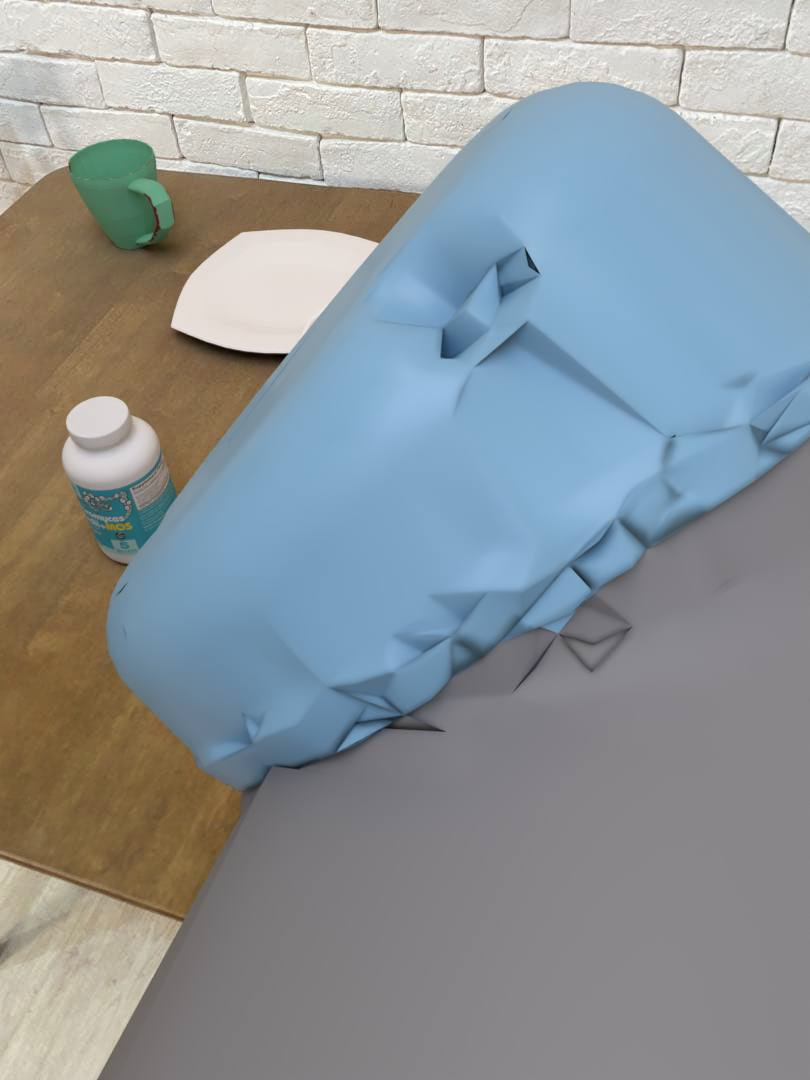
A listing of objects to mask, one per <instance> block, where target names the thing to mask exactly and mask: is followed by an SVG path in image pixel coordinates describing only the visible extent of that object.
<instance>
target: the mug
mask: <svg viewBox="0 0 810 1080" xmlns="http://www.w3.org/2000/svg"><path fill="white" fill-rule="evenodd" d="M67 164H68V167H67V172H68V175H69V178H70V180H71V182H72V183H73V186H74V187H75V190H76V191H77V193H78V194H79V196H80V198H81V199H82V201H83V203H84V204H85V206H86V207H87V209H88V211H89V213H90V214H91V215H92V216H93V218H94V219H95V221H96V222H97V224H98V225H99V226H100V228H101V229H102V231H104V233H105V234H106V235H107V236H108V237H109V239H110V240H111V241H112V242H113V244H114V245H115V246H116V247H117V248H119V249H122V250H136V249H137V250H138V249H141V248H144V247H146V246H147V245H156V244H159V243H162V242H164V241H165V240H166V238H167V237H168V236H169V233H170V231H171V229H172V228H173V225H174V223H175V222H176V216H175V210H174V205H173V200H172V197H171V196H170V194H169V192H168V190H167V189H166V187H165V186H164V185H163V184H161V183H159V182H158V171H157V169H158V168H157V159H156V155H155V151H154V148H153V146H151V145H150V144H148V143H147V142H145V141H143V140H139V139H134V138H133V139H132V138H115V139H114V138H113V139H108V140H102V141H99V142H96V143H93V144H89V145H87V146H85V147H83V148H82V149H79V150H78V151H76V152H75V153H74V154H73V155H72V156H70V157H69V160H68V162H67Z"/></svg>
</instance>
